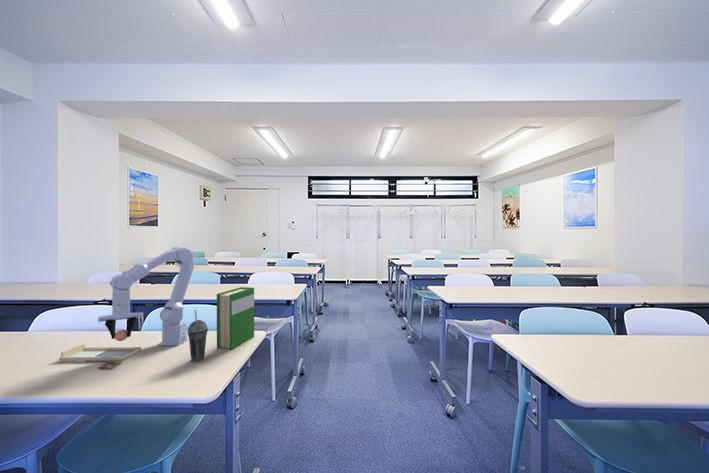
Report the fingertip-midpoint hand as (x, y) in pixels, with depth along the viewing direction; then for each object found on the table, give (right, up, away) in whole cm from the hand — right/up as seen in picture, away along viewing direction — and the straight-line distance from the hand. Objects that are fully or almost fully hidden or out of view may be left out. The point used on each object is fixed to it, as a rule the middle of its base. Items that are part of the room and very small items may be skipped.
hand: (121, 337), depth 122 cm
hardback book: (+41, -8, +16) cm, 45 cm away
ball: (0, +1, 0) cm, 1 cm away
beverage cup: (+33, -8, -3) cm, 34 cm away
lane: (-8, -8, 0) cm, 11 cm away
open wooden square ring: (+3, -8, -9) cm, 13 cm away
